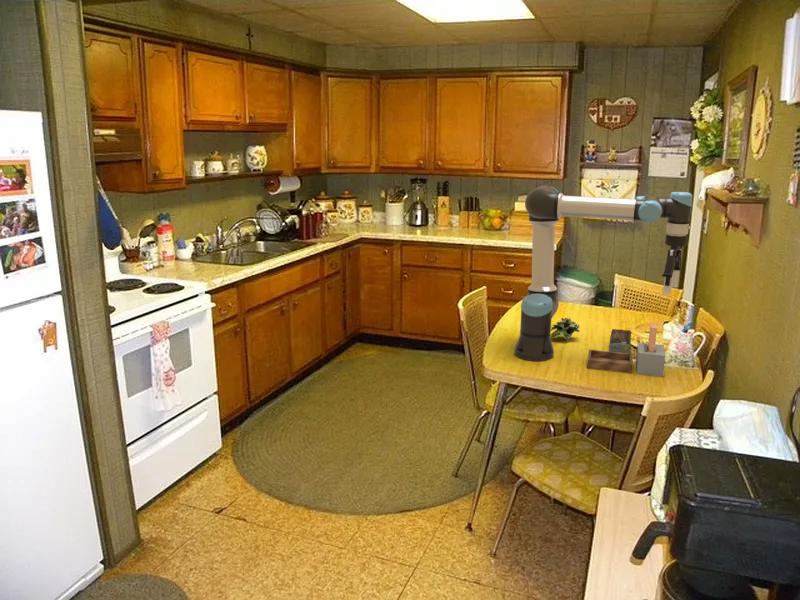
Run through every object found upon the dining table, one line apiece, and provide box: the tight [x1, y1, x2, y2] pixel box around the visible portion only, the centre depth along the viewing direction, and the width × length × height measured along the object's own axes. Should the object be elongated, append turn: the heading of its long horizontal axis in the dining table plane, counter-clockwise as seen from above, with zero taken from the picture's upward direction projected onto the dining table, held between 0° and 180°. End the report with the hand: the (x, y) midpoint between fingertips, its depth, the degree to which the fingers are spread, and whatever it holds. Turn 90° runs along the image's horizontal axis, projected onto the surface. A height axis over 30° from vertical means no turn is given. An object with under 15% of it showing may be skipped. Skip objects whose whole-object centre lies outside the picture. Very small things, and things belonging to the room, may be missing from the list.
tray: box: [586, 349, 634, 374], centre depth 243 cm, size 16×12×4 cm
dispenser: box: [635, 342, 666, 378], centre depth 238 cm, size 9×12×9 cm
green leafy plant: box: [550, 317, 580, 343], centre depth 272 cm, size 11×11×12 cm
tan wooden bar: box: [647, 322, 658, 352], centre depth 237 cm, size 2×6×15 cm, turn 162°
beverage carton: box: [608, 328, 632, 354], centre depth 260 cm, size 8×19×7 cm, turn 160°
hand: (670, 290), depth 243 cm, fingers open, 13 cm apart
